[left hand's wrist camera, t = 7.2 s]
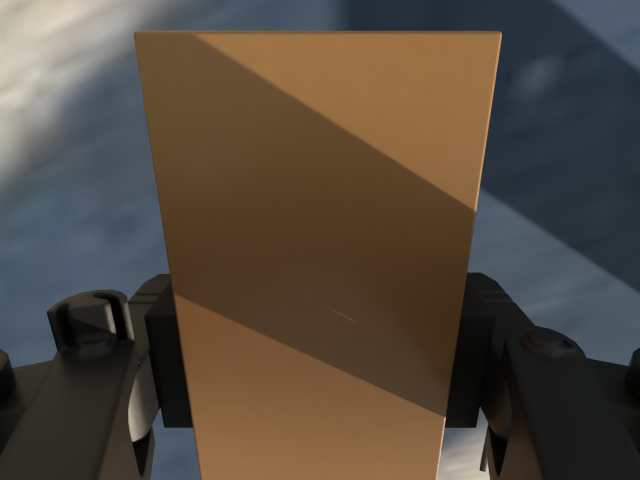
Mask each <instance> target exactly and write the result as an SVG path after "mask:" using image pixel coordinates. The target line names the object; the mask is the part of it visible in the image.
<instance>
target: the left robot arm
mask: <svg viewBox="0 0 640 480" xmlns="http://www.w3.org/2000/svg"><path fill="white" fill-rule="evenodd" d="M47 315H48V319H49V322H50V326H51V329H52V333H53V336H54V340H55V343H56V347H57V350H58V351H57V353H56V355H55V357H54V358H53V360H51V361H47V362H42V363H36V364H31V365H26V366H21V367H15V368H12V366H11V363H10V360H9V357H8V354H7V353H5V352H4V351H3V350H1V349H0V480H150V476H151V468H152V461H153V454H154V447H155V439H154V433H153V428H152V424H153V422H154V420H155V418H156V415H157V413H158V411H159V409H160V407H161V412H162V418H163V423H164V428H193V423H192V417H191V410H190V403H189V397H188V390H187V384H186V377H185V370H184V364H183V357H182V351H181V344H180V337H179V331H178V324H177V317H176V311H175V304H174V298H173V291H172V284H171V278H170V274H159V275H157V276H155V277H153V278H152V279H150V280H148V281H147V282H145V283H144V284H143V285H142V286H141V287H140V288H139V289H138V291H137V292H136V293H135V295H133V296H132V297H131V299H130V300H129V301H128V300H127V296H126V295H124V294H123V293H121V292H119V291H114V290H95V291H89V292H84V293H80V294H77V295H74V296H71V297H68V298H66V299H64V300H62V301H60V302H58V303H57V304H55V305H54V306H53V307H51V308H50V309H49V310H48V311H47ZM480 407H481V409H482V411H483V413H484V415H485V417H486V419H487V421H488V428H487V433H486V438H485V443H484V448H483V453H482V458H481V464H480V471H484V472H485V471H486V466H487V463H488V467H489V475H490V480H640V348H638V349H637V350H636V351H634V352H633V355H632V358H631V361H630V364H629V366H625V365H619V364H614V363H609V362H603V361H598V360H593V359H589V358H586V356H585V354H584V352H583V350H582V349H581V348H580V347H579V346H578V345H577V343H576V342H574V341H573V340H571V339H570V338H568V337H567V336H565V335H564V334H561V333H559V332H556V331H554V330H551V329H548V328H543V327H539V326H535V325H534V324H533V323H532V322H531V320H530V319H529V318H528V317H527V316H526V315H525V314H524V312H523V311H522V310H521V309H520V308H519V307H518V306H517V304H516V303H513V300H512V299H511V298H510V296H509V295H508V294H505V291H504V290H503V288H502V287H501V286H500V285H499V284H498V283H497V282H496V281H495V280H493V279H491V278H489V277H488V276H486V275H484V274H482V273H467V276H466V283H465V290H464V297H463V304H462V310H461V317H460V324H459V331H458V338H457V344H456V351H455V358H454V365H453V372H452V378H451V385H450V392H449V399H448V406H447V413H446V419H445V426H444V428H476V425H477V419H478V414H479V408H480Z"/></svg>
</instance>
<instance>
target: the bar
mask: <svg viewBox="0 0 640 480" xmlns="http://www.w3.org/2000/svg"><path fill="white" fill-rule="evenodd" d="M501 38H502V33H501V32H500V31H136V32H134V39H135V46H136V53H137V59H138V66H139V72H140V79H141V86H142V92H143V99H144V106H145V112H146V119H147V125H148V132H149V139H150V145H151V152H152V159H153V165H154V172H155V178H156V185H157V192H158V198H159V205H160V211H161V218H162V225H163V231H164V238H165V245H166V251H167V258H168V264H169V271H170V278H171V284H172V291H173V298H174V304H175V311H176V317H177V324H178V331H179V337H180V344H181V351H182V357H183V364H184V370H185V377H186V384H187V390H188V397H189V403H190V410H191V417H192V423H193V430H194V437H195V443H196V450H197V456H198V463H199V470H200V476H201V480H437V474H438V467H439V460H440V453H441V447H442V440H443V433H444V426H445V419H446V413H447V406H448V399H449V392H450V385H451V378H452V372H453V365H454V358H455V351H456V344H457V338H458V331H459V324H460V317H461V310H462V304H463V297H464V290H465V283H466V276H467V269H468V263H469V256H470V249H471V242H472V235H473V229H474V222H475V215H476V208H477V201H478V195H479V188H480V181H481V174H482V167H483V160H484V154H485V147H486V140H487V133H488V126H489V120H490V113H491V106H492V99H493V92H494V86H495V79H496V72H497V65H498V58H499V51H500V45H501Z"/></svg>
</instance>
